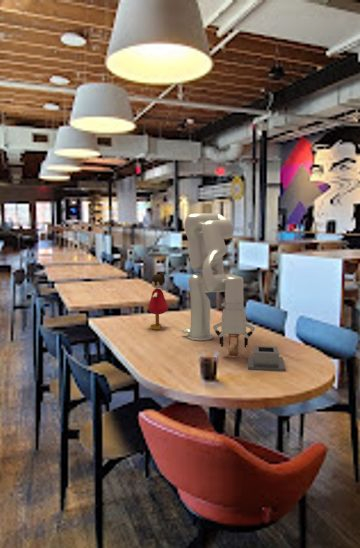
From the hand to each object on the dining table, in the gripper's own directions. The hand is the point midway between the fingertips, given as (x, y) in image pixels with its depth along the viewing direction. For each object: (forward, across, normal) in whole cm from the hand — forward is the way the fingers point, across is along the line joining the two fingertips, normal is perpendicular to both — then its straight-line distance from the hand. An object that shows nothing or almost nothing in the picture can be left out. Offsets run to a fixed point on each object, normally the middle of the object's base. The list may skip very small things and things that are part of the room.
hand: (233, 346), depth 177 cm
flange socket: (+4, +13, -8) cm, 16 cm away
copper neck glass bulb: (+4, 0, 0) cm, 4 cm away
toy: (+4, -41, +41) cm, 58 cm away
